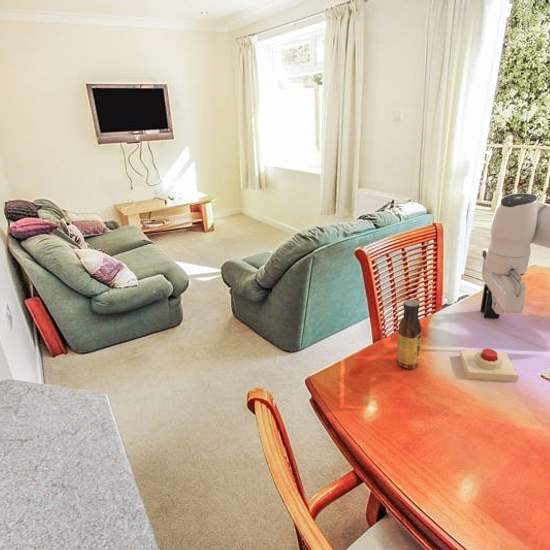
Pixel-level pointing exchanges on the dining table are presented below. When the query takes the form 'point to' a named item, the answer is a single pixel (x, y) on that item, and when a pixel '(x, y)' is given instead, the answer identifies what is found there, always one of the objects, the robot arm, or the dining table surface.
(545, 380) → the dining table surface
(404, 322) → the sauce bottle
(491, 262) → the robot arm
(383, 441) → the dining table surface
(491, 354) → the button
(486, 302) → the bracket
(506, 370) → the control block
